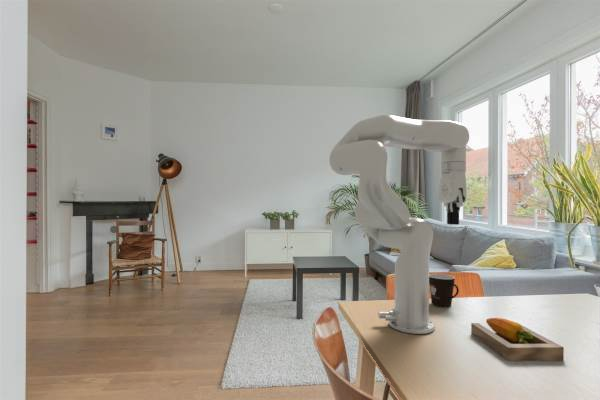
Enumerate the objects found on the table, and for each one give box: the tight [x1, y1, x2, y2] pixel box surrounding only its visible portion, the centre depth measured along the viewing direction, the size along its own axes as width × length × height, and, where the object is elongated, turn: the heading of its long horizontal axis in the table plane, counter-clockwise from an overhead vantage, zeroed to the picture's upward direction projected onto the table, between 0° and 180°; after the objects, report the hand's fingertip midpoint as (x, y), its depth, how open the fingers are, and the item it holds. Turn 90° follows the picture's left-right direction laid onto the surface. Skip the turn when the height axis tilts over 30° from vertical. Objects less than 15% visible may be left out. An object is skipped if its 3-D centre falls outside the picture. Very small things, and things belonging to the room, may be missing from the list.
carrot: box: [485, 317, 533, 344], centre depth 92 cm, size 5×5×15 cm
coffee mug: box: [429, 273, 460, 308], centre depth 121 cm, size 12×9×10 cm
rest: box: [470, 322, 565, 362], centre depth 87 cm, size 13×16×3 cm
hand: (452, 224), depth 113 cm, fingers closed
